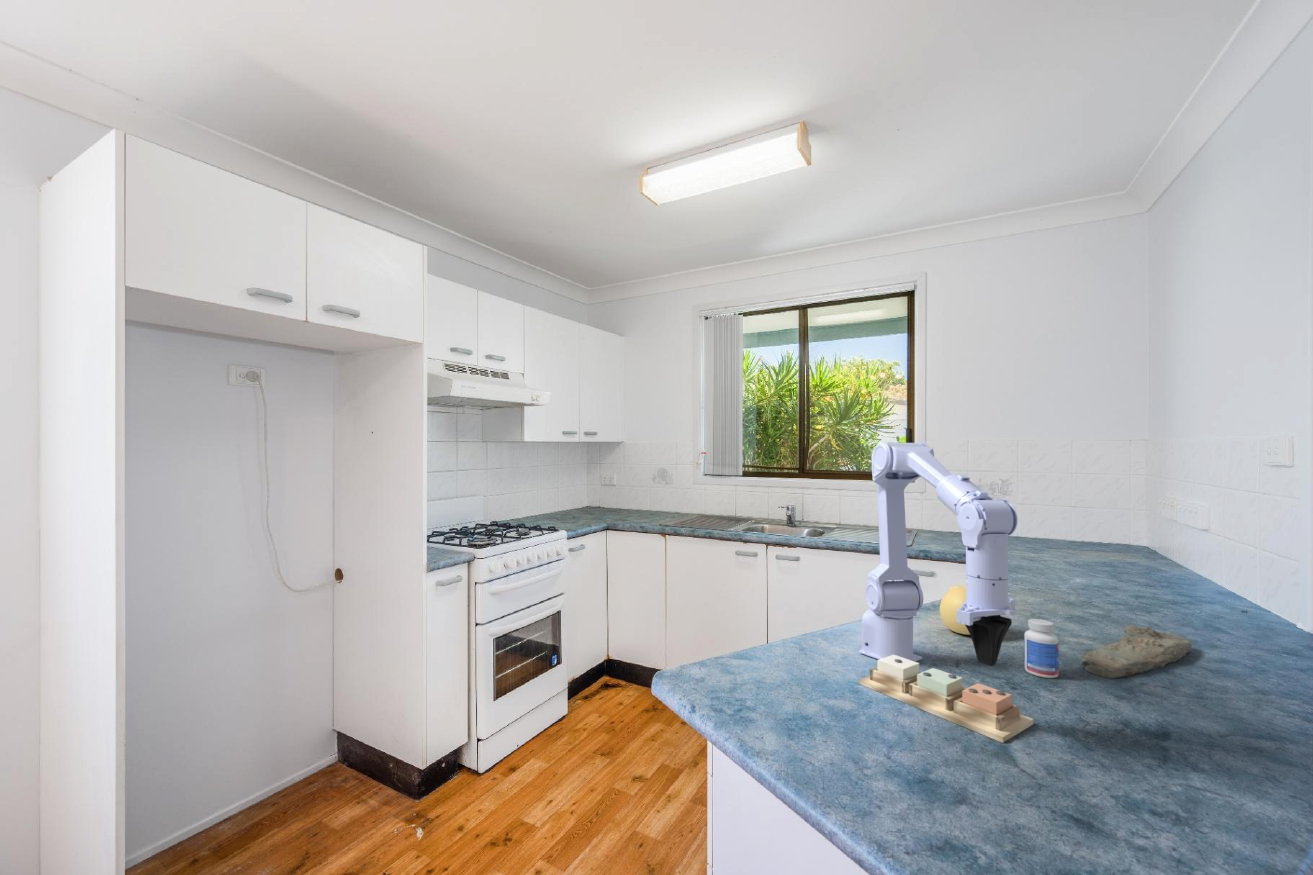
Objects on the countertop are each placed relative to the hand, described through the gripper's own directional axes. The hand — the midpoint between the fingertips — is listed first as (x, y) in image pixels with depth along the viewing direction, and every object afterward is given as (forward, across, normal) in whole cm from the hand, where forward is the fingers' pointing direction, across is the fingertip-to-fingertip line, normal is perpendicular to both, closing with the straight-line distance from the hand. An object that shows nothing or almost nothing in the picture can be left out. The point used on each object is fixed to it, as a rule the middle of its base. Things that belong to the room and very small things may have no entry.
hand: (986, 663), depth 87 cm
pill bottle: (+9, +29, +4) cm, 31 cm away
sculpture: (+9, +42, +24) cm, 49 cm away
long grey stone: (+10, +54, -4) cm, 55 cm away
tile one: (+7, 0, +15) cm, 17 cm away
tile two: (+7, 0, +7) cm, 10 cm away
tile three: (+7, 0, 0) cm, 7 cm away
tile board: (+9, 0, +8) cm, 12 cm away
